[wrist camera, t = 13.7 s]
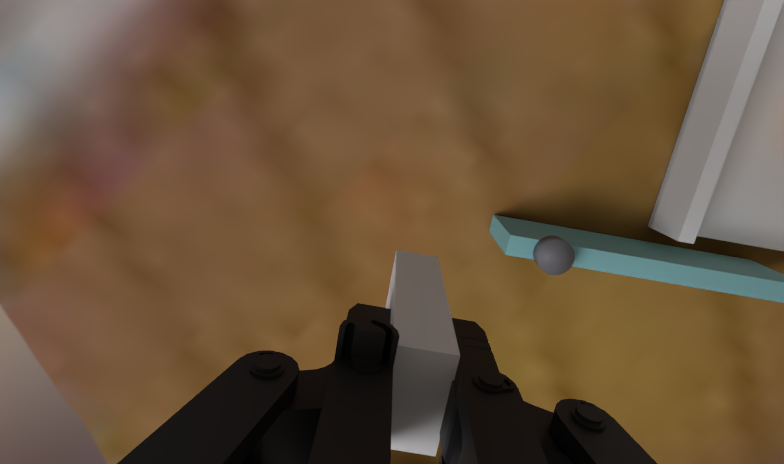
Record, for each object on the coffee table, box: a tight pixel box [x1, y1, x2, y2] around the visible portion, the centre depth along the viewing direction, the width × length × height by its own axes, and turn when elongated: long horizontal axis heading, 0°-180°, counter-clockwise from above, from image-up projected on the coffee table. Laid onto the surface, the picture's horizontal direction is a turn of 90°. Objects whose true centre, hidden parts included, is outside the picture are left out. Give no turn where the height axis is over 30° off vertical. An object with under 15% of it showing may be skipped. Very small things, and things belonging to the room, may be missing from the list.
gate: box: [489, 215, 784, 303], centre depth 28 cm, size 18×2×6 cm, turn 80°
